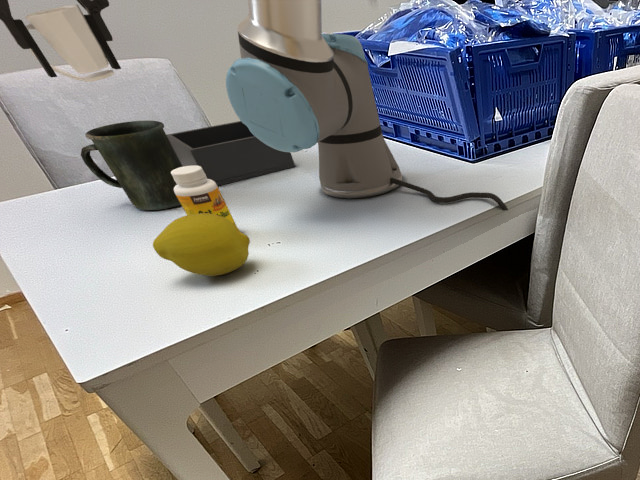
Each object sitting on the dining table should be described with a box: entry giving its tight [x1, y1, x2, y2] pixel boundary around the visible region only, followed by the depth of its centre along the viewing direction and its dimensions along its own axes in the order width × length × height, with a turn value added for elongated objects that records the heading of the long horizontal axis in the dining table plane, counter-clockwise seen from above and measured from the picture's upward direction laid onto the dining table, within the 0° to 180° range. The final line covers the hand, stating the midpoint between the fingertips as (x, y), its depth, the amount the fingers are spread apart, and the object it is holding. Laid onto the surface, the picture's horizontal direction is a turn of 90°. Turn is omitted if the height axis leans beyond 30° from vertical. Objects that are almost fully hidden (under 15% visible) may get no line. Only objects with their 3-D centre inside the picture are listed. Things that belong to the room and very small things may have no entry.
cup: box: [24, 4, 115, 83], centre depth 67 cm, size 7×10×8 cm
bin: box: [166, 120, 296, 187], centre depth 94 cm, size 17×18×7 cm
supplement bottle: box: [171, 165, 237, 226], centre depth 67 cm, size 6×6×10 cm
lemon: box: [152, 213, 251, 277], centre depth 60 cm, size 11×8×8 cm
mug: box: [80, 120, 183, 211], centre depth 79 cm, size 11×15×12 cm
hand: (85, 72), depth 69 cm, fingers closed on cup, 8 cm apart
